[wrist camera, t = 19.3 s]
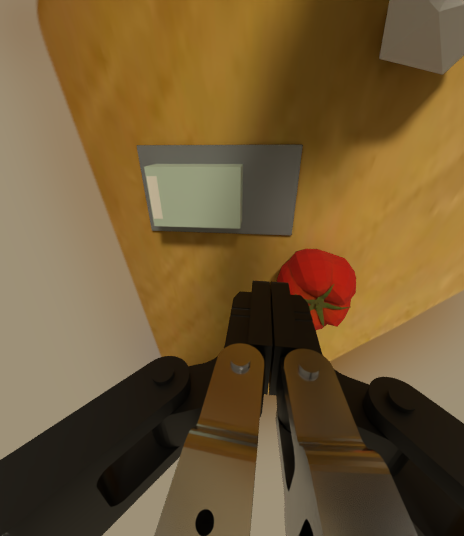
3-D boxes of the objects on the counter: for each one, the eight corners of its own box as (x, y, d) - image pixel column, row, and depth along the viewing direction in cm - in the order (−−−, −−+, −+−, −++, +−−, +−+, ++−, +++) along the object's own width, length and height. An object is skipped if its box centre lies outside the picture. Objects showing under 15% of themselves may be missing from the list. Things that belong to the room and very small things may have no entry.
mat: (138, 145, 29) (136, 145, 29) (302, 144, 27) (302, 144, 27) (153, 229, 34) (152, 230, 34) (291, 234, 32) (291, 235, 32)
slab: (242, 164, 28) (156, 163, 30) (240, 167, 25) (143, 166, 26) (242, 219, 32) (164, 217, 33) (240, 228, 29) (154, 226, 30)
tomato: (292, 310, 39) (299, 352, 31) (259, 259, 35) (259, 292, 27) (357, 285, 35) (383, 325, 28) (328, 224, 31) (350, 252, 24)
